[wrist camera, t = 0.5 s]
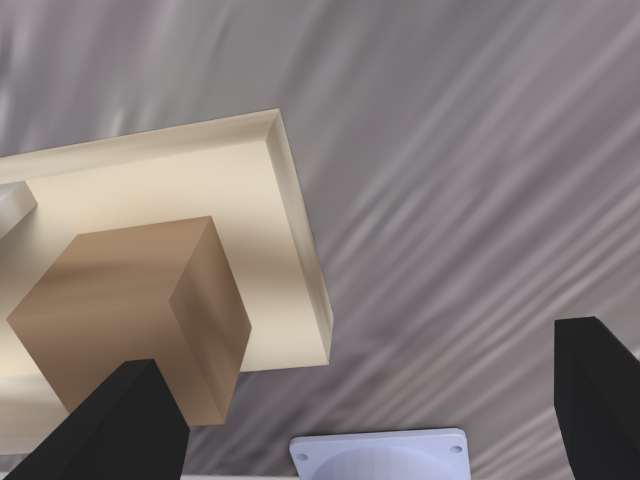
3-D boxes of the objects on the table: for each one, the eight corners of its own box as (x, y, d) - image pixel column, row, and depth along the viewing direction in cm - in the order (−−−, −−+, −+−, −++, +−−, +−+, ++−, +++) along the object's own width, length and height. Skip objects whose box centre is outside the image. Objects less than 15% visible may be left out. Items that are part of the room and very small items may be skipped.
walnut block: (252, 327, 19) (224, 423, 16) (132, 339, 20) (82, 433, 16) (211, 215, 17) (168, 300, 13) (77, 234, 17) (5, 319, 14)
